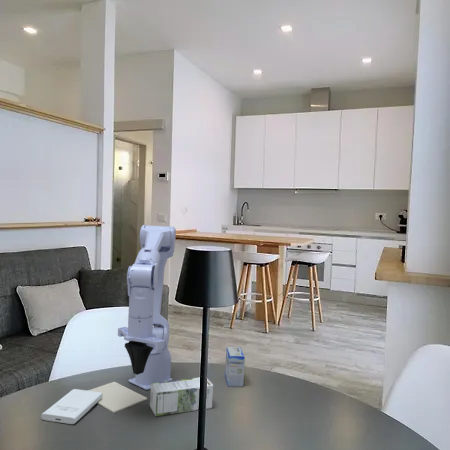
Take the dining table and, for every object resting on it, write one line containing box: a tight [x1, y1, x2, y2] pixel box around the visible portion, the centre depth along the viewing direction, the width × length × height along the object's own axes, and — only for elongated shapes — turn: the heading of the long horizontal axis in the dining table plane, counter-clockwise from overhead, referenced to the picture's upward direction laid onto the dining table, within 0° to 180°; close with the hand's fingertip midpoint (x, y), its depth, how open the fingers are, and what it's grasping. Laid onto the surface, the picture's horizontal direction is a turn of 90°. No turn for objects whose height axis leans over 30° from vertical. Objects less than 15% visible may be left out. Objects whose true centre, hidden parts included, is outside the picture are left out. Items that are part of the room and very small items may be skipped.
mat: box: [87, 381, 148, 414], centre depth 103 cm, size 10×14×1 cm
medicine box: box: [224, 346, 246, 388], centre depth 117 cm, size 8×4×9 cm, turn 6°
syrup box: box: [149, 377, 214, 417], centre depth 100 cm, size 6×6×14 cm
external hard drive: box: [40, 388, 103, 425], centre depth 96 cm, size 2×8×12 cm
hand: (138, 372), depth 96 cm, fingers closed
